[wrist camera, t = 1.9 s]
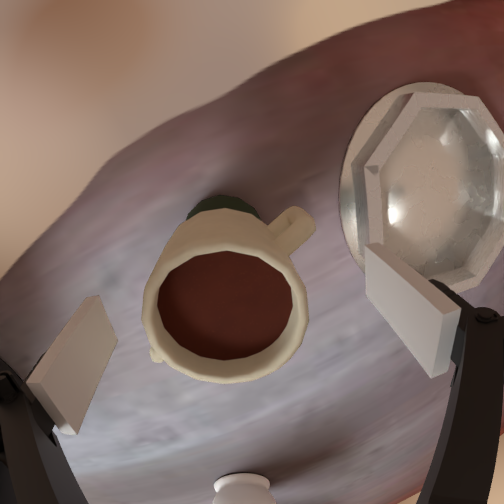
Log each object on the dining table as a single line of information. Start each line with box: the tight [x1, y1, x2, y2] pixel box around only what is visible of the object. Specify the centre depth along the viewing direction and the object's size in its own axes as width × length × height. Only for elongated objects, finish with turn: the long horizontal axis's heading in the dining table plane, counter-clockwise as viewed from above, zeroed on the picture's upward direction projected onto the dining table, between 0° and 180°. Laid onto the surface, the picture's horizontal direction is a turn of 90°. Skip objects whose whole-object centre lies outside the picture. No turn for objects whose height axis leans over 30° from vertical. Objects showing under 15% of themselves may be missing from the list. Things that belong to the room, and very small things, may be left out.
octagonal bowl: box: [339, 82, 504, 294], centre depth 24 cm, size 21×21×3 cm
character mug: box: [141, 195, 316, 384], centre depth 19 cm, size 11×7×13 cm, turn 132°
